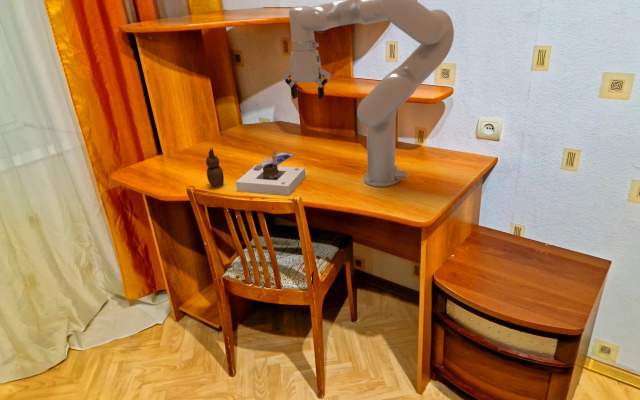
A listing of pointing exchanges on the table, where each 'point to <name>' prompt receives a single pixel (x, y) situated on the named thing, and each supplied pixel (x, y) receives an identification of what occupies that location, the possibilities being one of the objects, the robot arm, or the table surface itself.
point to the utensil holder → (271, 170)
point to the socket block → (271, 181)
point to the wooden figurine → (214, 170)
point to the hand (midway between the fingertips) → (308, 98)
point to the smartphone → (278, 159)
